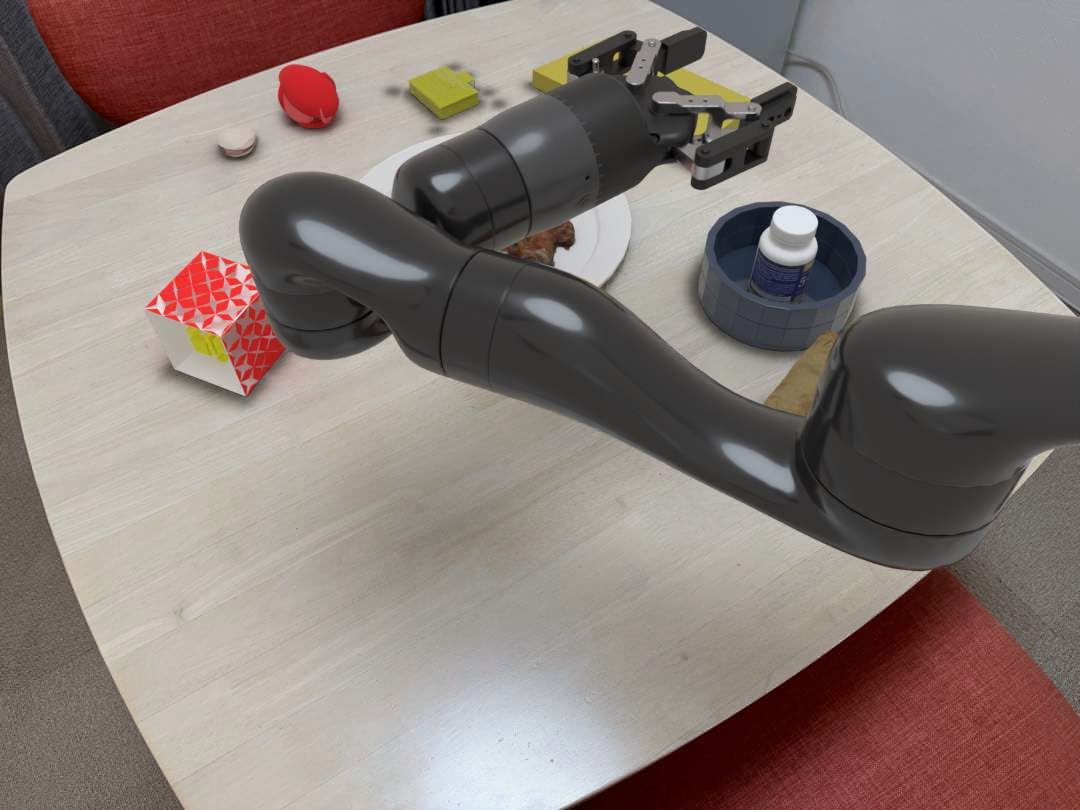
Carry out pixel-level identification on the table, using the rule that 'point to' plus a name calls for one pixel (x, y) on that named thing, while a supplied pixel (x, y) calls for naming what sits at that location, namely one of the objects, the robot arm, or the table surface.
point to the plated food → (572, 246)
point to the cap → (307, 95)
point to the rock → (803, 378)
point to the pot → (774, 321)
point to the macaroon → (236, 140)
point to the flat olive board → (697, 85)
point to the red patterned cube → (215, 324)
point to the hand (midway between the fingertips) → (745, 67)
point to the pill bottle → (785, 256)
